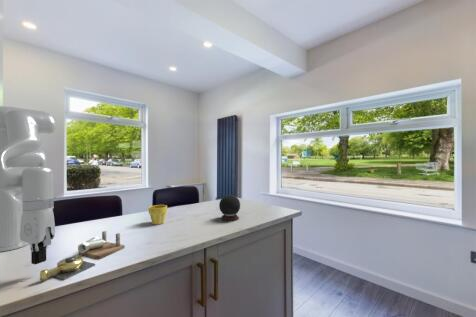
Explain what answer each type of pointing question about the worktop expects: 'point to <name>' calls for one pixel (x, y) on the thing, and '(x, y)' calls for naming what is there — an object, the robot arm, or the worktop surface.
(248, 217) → the worktop surface
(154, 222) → the plant pot
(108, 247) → the peg rack
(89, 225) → the worktop surface
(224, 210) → the black round ball
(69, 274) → the base
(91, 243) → the pipe fitting
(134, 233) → the worktop surface
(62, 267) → the gold elongated piece
